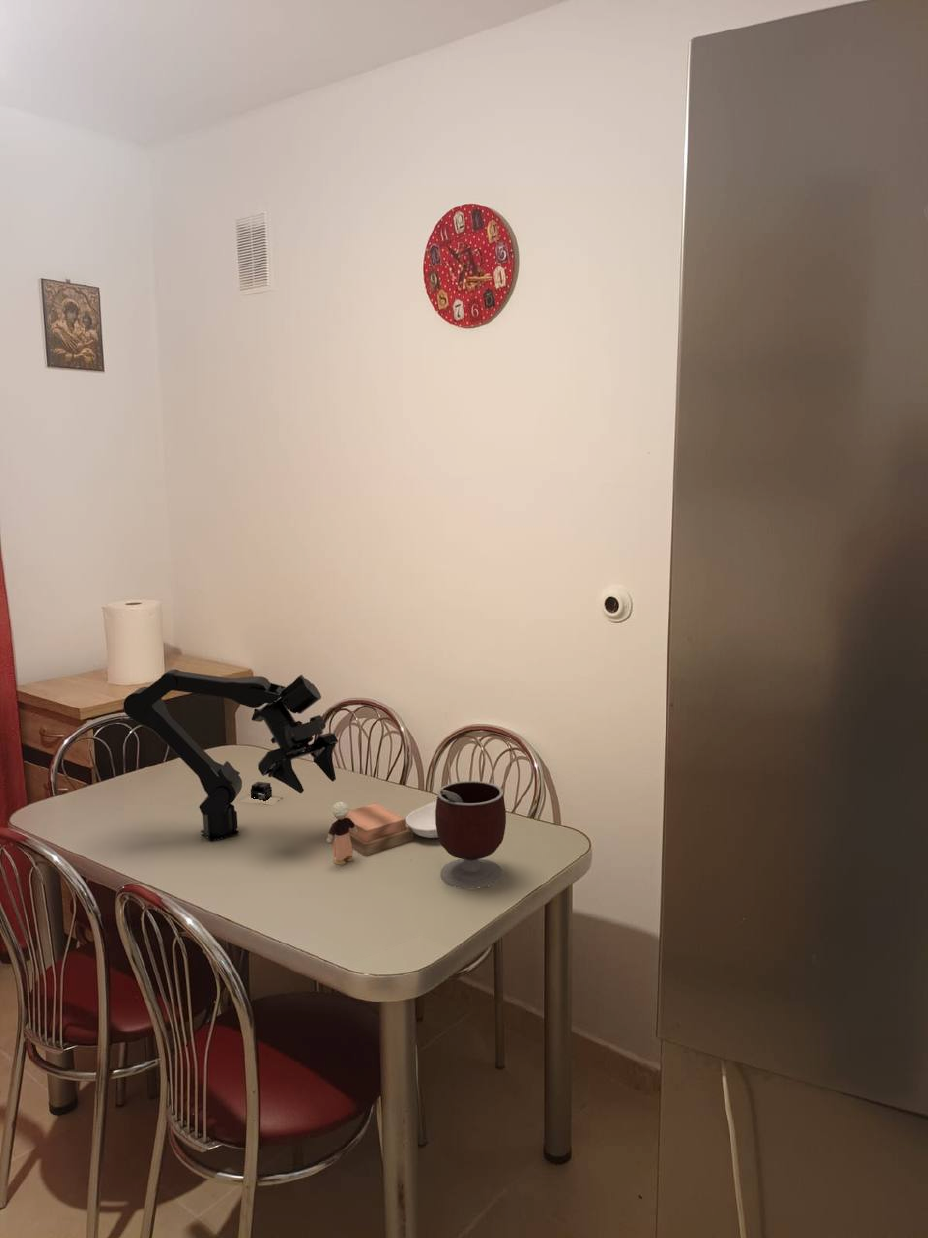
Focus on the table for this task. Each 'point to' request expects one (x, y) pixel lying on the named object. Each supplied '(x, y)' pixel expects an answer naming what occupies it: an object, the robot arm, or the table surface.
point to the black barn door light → (261, 791)
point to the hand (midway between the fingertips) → (318, 786)
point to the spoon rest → (423, 821)
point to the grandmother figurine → (341, 834)
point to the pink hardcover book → (377, 829)
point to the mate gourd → (470, 831)
